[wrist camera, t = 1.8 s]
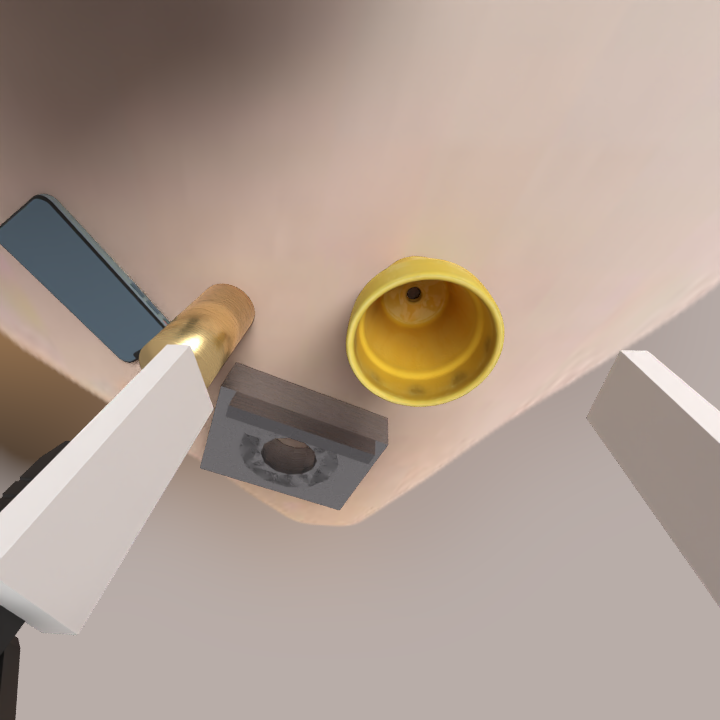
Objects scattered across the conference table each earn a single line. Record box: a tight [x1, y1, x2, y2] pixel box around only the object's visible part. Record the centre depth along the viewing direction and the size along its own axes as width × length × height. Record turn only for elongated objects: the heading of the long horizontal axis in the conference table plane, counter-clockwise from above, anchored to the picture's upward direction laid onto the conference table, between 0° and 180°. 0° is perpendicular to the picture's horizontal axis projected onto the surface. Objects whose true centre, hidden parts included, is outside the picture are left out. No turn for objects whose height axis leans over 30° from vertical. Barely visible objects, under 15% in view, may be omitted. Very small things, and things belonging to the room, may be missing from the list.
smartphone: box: [0, 194, 169, 363], centre depth 31 cm, size 8×2×15 cm
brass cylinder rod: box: [139, 284, 255, 389], centre depth 28 cm, size 5×5×10 cm
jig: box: [200, 363, 388, 510], centre depth 39 cm, size 18×14×6 cm
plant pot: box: [346, 256, 504, 407], centre depth 26 cm, size 10×10×10 cm
